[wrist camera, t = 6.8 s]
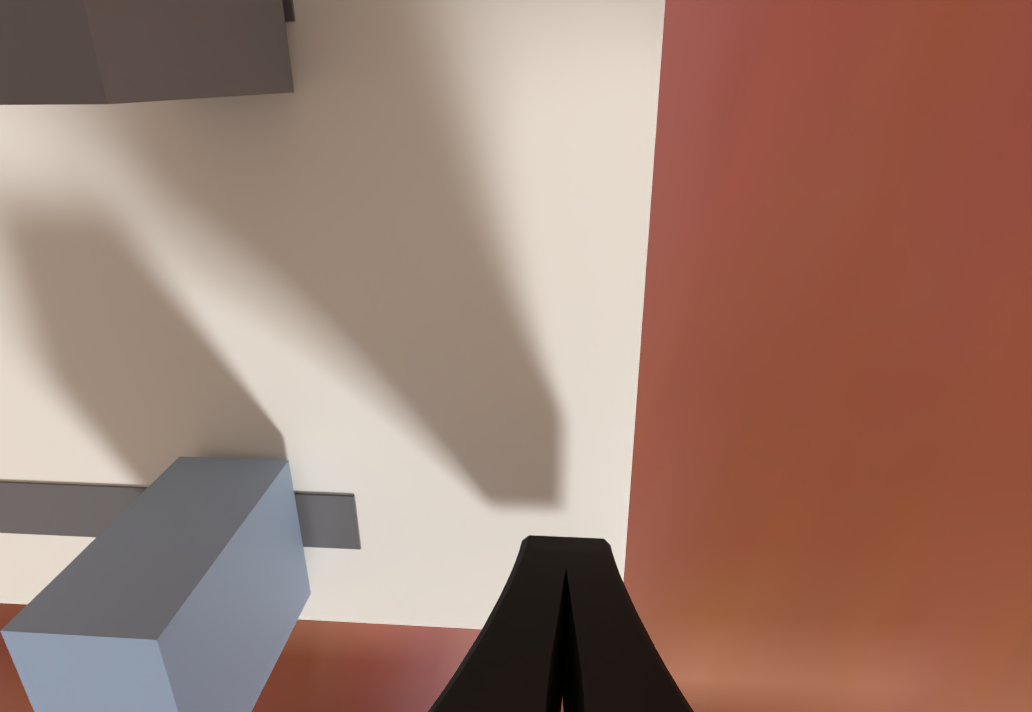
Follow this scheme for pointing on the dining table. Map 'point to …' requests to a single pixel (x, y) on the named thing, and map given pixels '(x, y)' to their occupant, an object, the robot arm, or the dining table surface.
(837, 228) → the dining table surface
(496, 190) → the switch board
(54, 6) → the gray tab
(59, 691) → the grey rectangular block
